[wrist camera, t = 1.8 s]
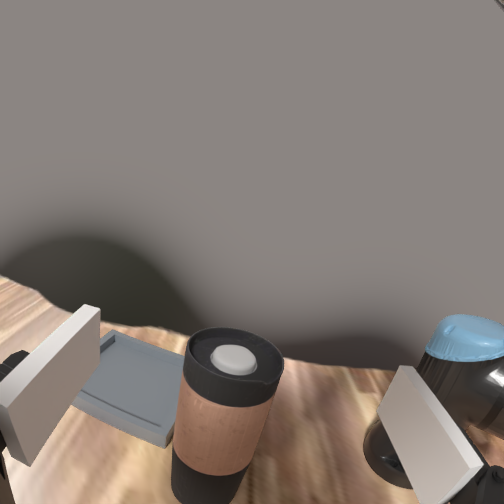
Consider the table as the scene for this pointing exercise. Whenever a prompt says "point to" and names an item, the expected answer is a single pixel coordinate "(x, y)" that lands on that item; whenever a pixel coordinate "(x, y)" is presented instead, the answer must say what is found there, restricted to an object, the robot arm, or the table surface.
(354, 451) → the table surface
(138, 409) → the slate tray
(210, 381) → the travel mug
